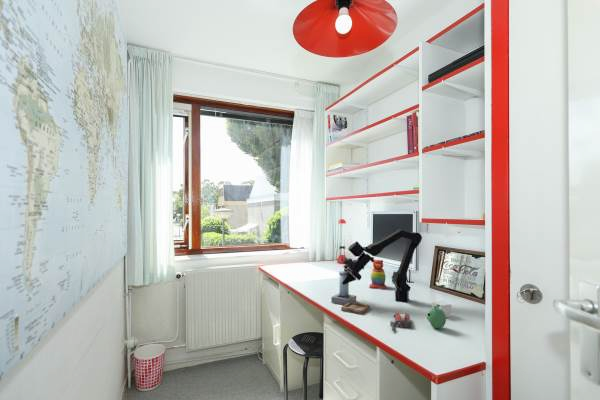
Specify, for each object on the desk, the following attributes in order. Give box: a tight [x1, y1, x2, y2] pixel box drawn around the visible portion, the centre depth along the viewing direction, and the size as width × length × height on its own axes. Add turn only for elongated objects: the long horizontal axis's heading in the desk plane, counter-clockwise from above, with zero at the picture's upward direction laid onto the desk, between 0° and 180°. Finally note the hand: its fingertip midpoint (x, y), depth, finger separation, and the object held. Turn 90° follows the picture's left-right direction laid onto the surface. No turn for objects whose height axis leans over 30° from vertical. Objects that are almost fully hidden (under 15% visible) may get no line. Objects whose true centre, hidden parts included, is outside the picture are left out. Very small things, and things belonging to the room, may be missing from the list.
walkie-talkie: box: [389, 312, 412, 332], centre depth 142 cm, size 9×4×20 cm
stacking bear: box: [369, 259, 387, 290], centre depth 211 cm, size 11×10×18 cm
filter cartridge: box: [338, 270, 350, 296], centre depth 177 cm, size 5×5×12 cm
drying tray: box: [340, 302, 371, 315], centre depth 163 cm, size 11×11×2 cm
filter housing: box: [331, 292, 357, 306], centre depth 177 cm, size 10×10×3 cm
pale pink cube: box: [431, 300, 452, 318], centre depth 155 cm, size 6×6×6 cm
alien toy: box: [426, 304, 447, 330], centre depth 139 cm, size 7×8×10 cm
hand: (341, 282), depth 177 cm, fingers closed on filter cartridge, 5 cm apart
